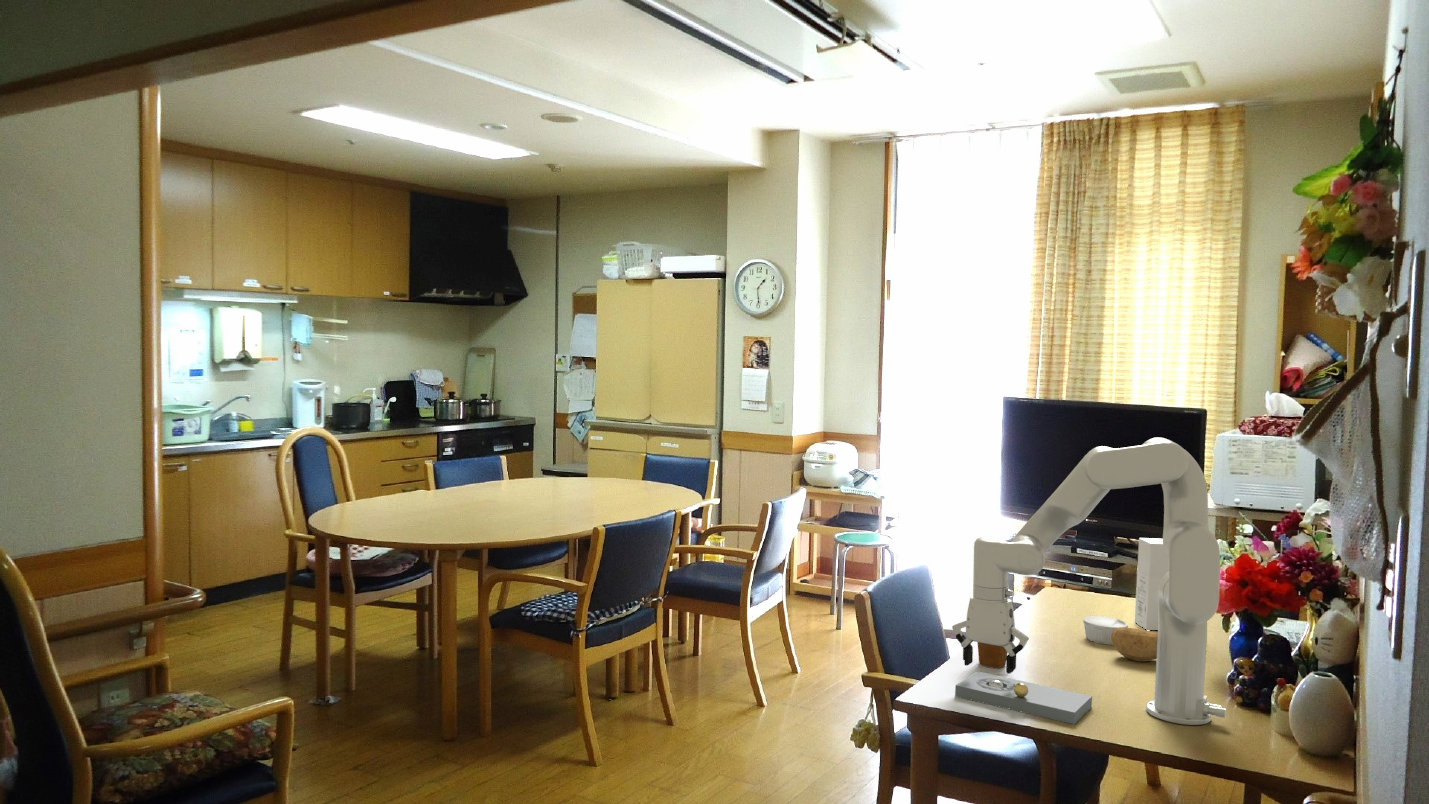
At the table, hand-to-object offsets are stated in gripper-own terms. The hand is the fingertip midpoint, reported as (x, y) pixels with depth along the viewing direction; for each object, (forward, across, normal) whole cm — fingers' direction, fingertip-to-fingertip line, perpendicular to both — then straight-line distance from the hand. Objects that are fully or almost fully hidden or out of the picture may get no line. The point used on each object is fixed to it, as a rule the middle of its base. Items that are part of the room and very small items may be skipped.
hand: (989, 668), depth 223 cm
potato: (+7, -21, -51) cm, 55 cm away
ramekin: (+7, -9, -64) cm, 65 cm away
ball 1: (+4, -2, 0) cm, 4 cm away
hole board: (+6, -8, 0) cm, 10 cm away
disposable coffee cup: (+6, +7, -22) cm, 24 cm away
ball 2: (+2, -9, +5) cm, 10 cm away
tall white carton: (+7, -17, -88) cm, 90 cm away
